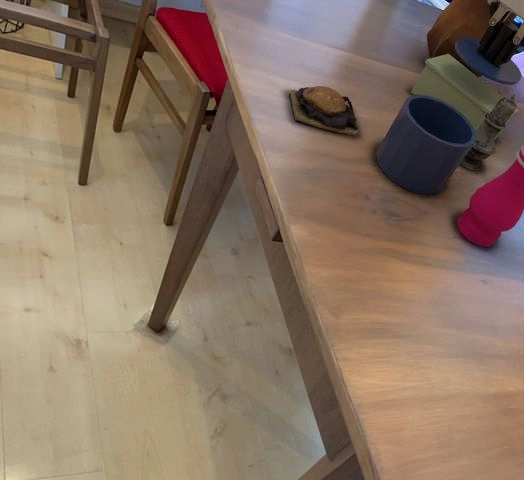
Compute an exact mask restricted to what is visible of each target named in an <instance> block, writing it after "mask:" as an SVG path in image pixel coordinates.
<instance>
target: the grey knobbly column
mask: <svg viewBox="0 0 524 480" xmlns="http://www.w3.org/2000/svg"><path fill="white" fill-rule="evenodd" d="M502 97H503V98H501V99H500V100H499V101H498V102H497V104H496V105H495V107H494V108H493V109H492V111H491V112H490V114H486V115H485V120H484V121H483V123H482V124H481V126H480V127H479V128H478V129H477V130H475V132H476V135H477V137H476V140H475V144H474V145H473V146H472V148H471V149H470V151H469V152H468V153H467V155H466V156H465V157H464V159H463V160H462V162H461V163H460V164H459V165H461V166H462V167H464V168H465V169H468V170H470V171H480V170H482V167H483V164H482V161H484V160H487V159H488V158H489V157H491V156H492V155H494V154H496V153H497V146H496V143H495V140H496V139H495V137H496V136H497V135H498V133H499V132H500V131H501V129H503V130H505V129H506V127H507V125H506V124H505V123H506V122H507V121H508V119H509V118H510V117H511V115H512V114H513V113H514V111H515V109H516V108H517V103H516V102H515V100H514V99H516V94H515V93H514V94H511V95H510V97H506V96H502ZM501 132H502V131H501ZM498 136H499V135H498ZM494 139H495V140H494Z"/></svg>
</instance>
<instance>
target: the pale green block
mask: <svg viewBox="0 0 524 480" xmlns="http://www.w3.org/2000/svg"><path fill="white" fill-rule="evenodd" d="M424 63H425V65H424V67H423V70H421V73H420V74H419V76H418V78H417V80H416V81H415V84H414V85H413V87H412V88H411V91H410V93H411V94H412V95H426V96H430V97H433V98H436V99H439V100H442V101H443V102H445V103H447V104H449V105H450V106H452V107H454V108H455V109H457V110H458V111H459V112H460V113H461V114H463V115H464V116H465V117H466V118H467V119H468V121H469V122H470V123H471V125H472V126H473V127H474V129H475V130H477V129H478V128H479V127H480V126H481V124H482V123H483V121H484V120H485V115H486V114H490V112H491V111H492V109H493V108H494V107H495V105H496V104H497V102H498V101H499V100H500V99H501V98H503V97H504V96H502V95H501V94H500V93H499V92H497V91H496V90H495V89H494V88H492V87H491V86H490V85H489V84H487V83H486V82H485V81H484V80H482V79H481V78H480V77H477V76H476V75H474V74H473V73H472V72H471V71H469V70H468V69H467V68H466V67H464V66H463V65H462V64H461V63H459V62H458V61H457V60H456V59H454V58H453V57H452V56H451V55H449V54H446V55H442V56H438V57H434V58H428V59H426V60H425V62H424ZM520 111H521V110H520V109H518V108H517V107H516V109H515V111H514V113H513V114H512V115H511V117H510V118H509V119H508V121H507V122H506V123H505V124H506V126H507V125H508V124H509V122H510V121H511V120H512V118H513V117H514V116H515V115H517V114H519V112H520ZM503 130H504V129H501V131H500V132H499V133H498V135H497V136H496V137H495V139H494V141H495V140H497V138H498V137H499V135H500V134H501V133H502V132H503Z"/></svg>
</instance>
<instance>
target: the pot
mask: <svg viewBox="0 0 524 480" xmlns="http://www.w3.org/2000/svg"><path fill="white" fill-rule="evenodd" d="M387 130H388V131H387V132H386V134H385V136H384V138H383V139H382V141H381V143H380V145H379V147H378V148H377V150H376V154H375V156H376V157H375V158H376V161H377V164H378V165H379V168H380V169H381V171H382V172H383V173H384V174H385V176H387V177H388V178H389V179H390V180H391V181H392V182H394V183H395V184H396V185H398V186H400V187H402V188H403V189H406V190H408V191H409V192H413V193H415V194H421V195H433V194H435V193H438V192H440V191H441V190H442V189H443V188H444V187H445V185H446V184H447V182H448V181H449V180H450V178H451V177H452V176H453V174H454V173H455V171H456V170H457V169H458V167H459V166H460V165H461V164H460V163H461V162H462V160H463V159H464V157H465V156H466V155H467V153H468V152H469V151H470V149H471V148H472V146H473V145H474V144H475V140H476V137H477V135H476V132H475V129H474V127H473V126H472V125H471V123H470V122H469V121H468V119H467V118H466V117H465V116H464V115H463V114H461V113H460V112H459V111H458V110H457V109H455V108H454V107H452V106H450V105H449V104H447V103H445V102H443V101H442V100H439V99H436V98H433V97H430V96H426V95H414V94H412V95H410V96H407V97H406V98H405V100H404V102H403V104H402V105H401V107H400V109H399V111H398V113H397V115H396V116H395V118H394V120H393V122H392V123H391V125H390V127H389V128H388V129H387Z"/></svg>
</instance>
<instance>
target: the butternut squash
mask: <svg viewBox="0 0 524 480" xmlns="http://www.w3.org/2000/svg"><path fill="white" fill-rule="evenodd" d="M517 17H518V16H517V15H515V14H514V13H513V12H511V13H510V14H509V16H508V17H507V18H506V20H505V21H509V22H511V23H514V20H515V19H516V18H517ZM489 21H490V5H489V4H488V1H487V0H451V2H450V3H449V4H448V5H447V6H446V7H444V9H443V10H442V11H441V12H440V14H439V15H438V16H437V18H436V20H435V21H434V23H433V25H432V27H431V28H430V29H429V30H428V32H427V33H426V42H427V49H428V56H429V57H430V58H429V59H431V58H434V57H438V56H442V55H446V54H449V55H451V56H452V57H453V58H454V59H456V60H457V61H458V62H459V63H461V64H462V65H463V66H464V67H466V68H467V69H468V70H469V71H471V72H472V73H473V74H474V75H476V76H477V77H478V78H481V77H483V76H482V75H481V74H479V73H478V72H476V71H475V70H473V69H472V68H471V67H469V66H468V65H467V64H466V63H465V62H464V61H463V60H462V59H461V58H460V56H459V55H458V53H457V52H456V49H455V43H456V42H457V40H458V39H459V38H462V37H470V38H475V39H478V40H481V39H482V37H483V36H484V34H485V32H486V31H487V29H488V28H489V26H490V24H489Z"/></svg>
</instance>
